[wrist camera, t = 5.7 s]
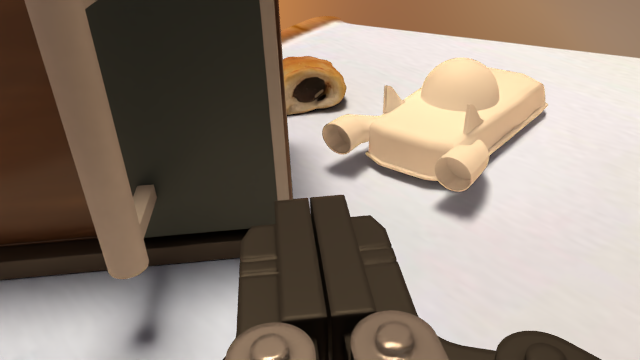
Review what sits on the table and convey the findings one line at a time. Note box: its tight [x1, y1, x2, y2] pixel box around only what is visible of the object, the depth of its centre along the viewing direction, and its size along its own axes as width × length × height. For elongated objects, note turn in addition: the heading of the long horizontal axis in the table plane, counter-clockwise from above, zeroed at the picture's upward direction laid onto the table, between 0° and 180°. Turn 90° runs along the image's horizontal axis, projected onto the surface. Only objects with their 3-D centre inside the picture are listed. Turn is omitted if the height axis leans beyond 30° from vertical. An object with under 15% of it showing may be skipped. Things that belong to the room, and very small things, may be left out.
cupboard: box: [0, 0, 293, 280], centre depth 28 cm, size 13×18×16 cm
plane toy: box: [322, 58, 548, 192], centre depth 37 cm, size 10×20×6 cm, turn 141°
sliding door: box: [24, 0, 289, 279], centre depth 21 cm, size 6×9×13 cm, turn 96°
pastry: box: [283, 56, 346, 115], centre depth 46 cm, size 9×7×4 cm
